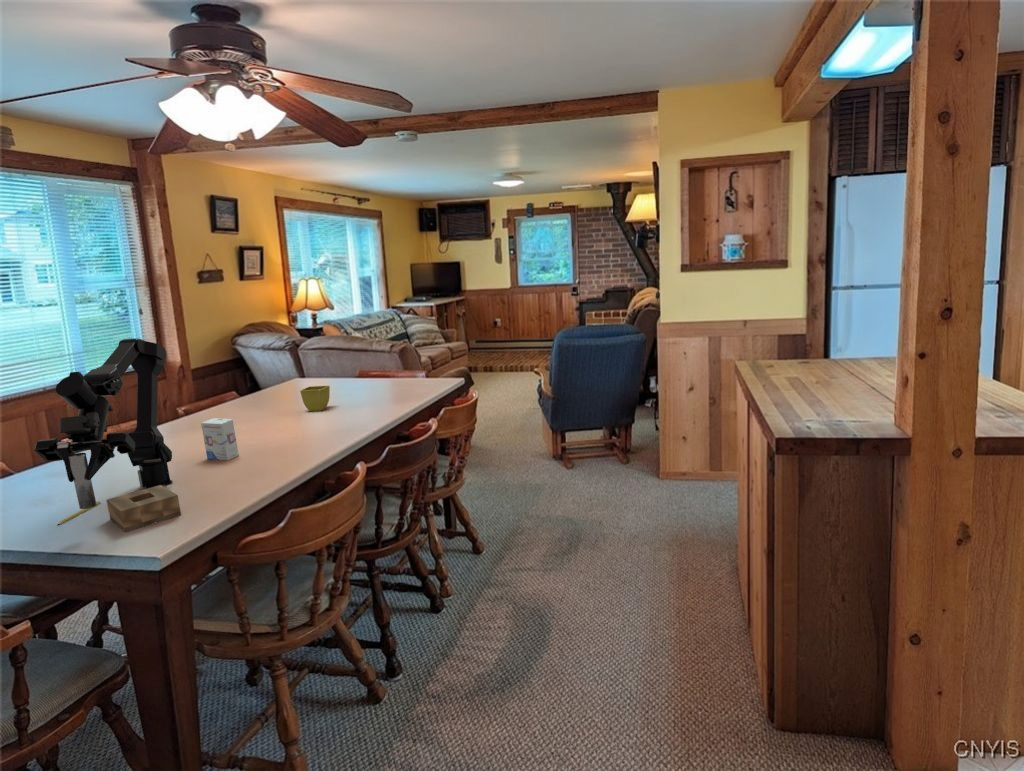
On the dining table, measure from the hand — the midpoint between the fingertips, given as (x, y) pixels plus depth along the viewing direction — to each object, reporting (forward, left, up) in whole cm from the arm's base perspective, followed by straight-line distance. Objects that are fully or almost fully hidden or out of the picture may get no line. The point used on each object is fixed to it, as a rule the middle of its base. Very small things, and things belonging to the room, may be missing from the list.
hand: (79, 480), depth 143 cm
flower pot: (-95, -71, -13) cm, 119 cm away
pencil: (-2, -19, -14) cm, 23 cm away
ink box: (-44, -37, -13) cm, 59 cm away
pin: (-1, -1, -7) cm, 7 cm away
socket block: (-12, -2, -13) cm, 18 cm away
